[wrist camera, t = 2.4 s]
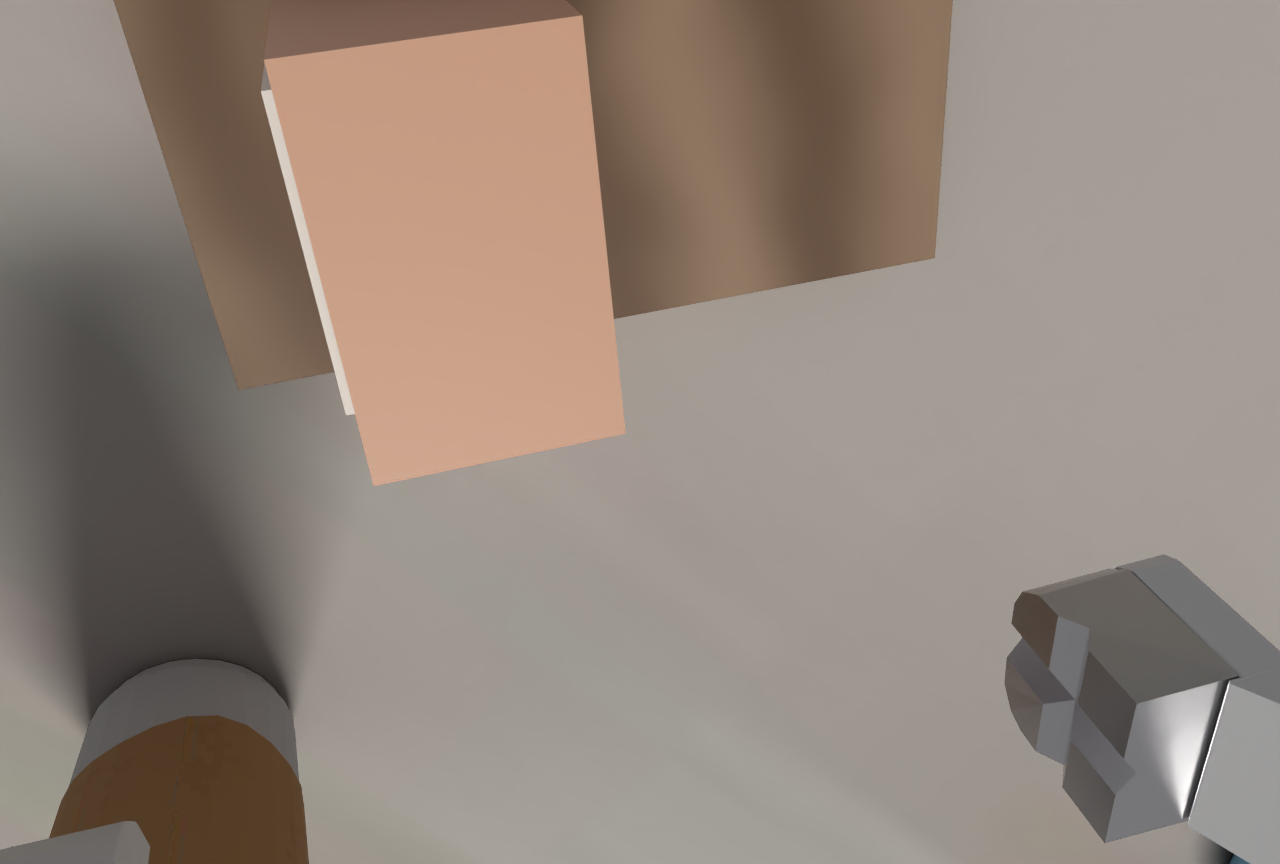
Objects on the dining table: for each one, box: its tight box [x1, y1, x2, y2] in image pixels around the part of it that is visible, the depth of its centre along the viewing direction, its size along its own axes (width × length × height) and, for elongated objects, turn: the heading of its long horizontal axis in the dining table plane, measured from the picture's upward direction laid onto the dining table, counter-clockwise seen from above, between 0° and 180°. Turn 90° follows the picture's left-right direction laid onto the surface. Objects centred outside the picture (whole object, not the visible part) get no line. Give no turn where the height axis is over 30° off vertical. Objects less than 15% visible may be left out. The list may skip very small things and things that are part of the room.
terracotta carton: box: [261, 0, 626, 486], centre depth 23 cm, size 5×8×9 cm, turn 5°
